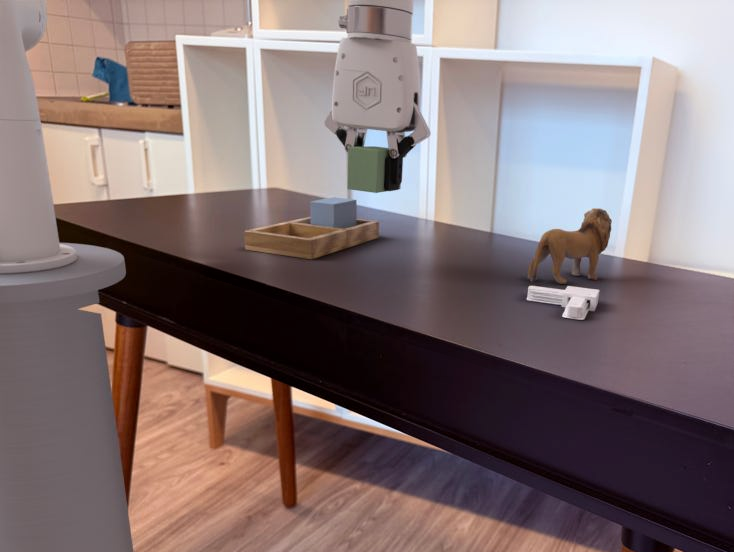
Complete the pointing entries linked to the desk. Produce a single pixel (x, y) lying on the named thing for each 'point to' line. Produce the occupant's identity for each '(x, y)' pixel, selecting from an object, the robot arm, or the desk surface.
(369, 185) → the pad
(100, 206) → the desk surface
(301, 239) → the tray
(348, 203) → the blue-grey block
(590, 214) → the lion figurine
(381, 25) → the robot arm
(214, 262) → the desk surface
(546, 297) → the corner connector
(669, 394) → the desk surface
